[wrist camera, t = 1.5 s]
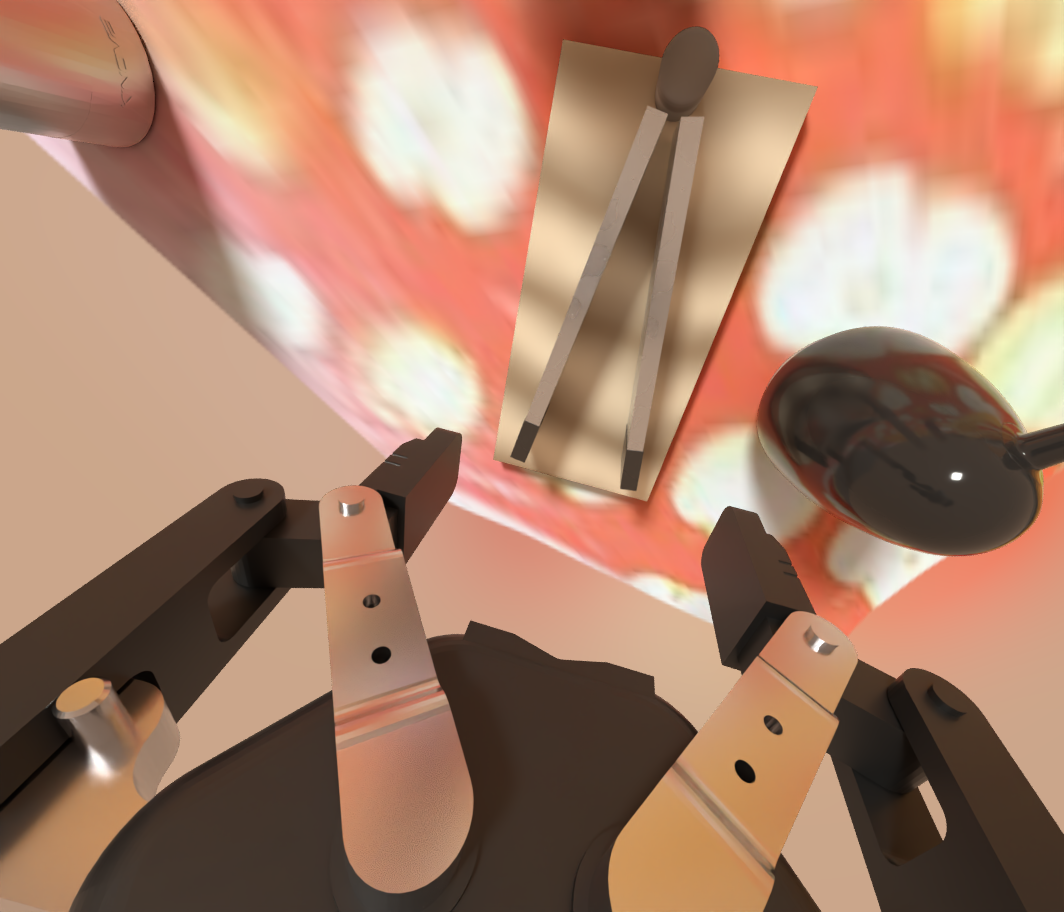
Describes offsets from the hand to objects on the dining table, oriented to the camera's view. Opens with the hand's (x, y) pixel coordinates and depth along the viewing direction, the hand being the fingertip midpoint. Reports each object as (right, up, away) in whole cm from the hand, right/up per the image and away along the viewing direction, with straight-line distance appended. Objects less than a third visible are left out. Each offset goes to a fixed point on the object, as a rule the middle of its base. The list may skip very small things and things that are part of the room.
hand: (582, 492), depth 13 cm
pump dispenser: (+19, +6, +16) cm, 25 cm away
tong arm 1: (+2, +11, +15) cm, 18 cm away
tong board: (+4, +11, +16) cm, 20 cm away
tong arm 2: (+6, +9, +14) cm, 18 cm away
